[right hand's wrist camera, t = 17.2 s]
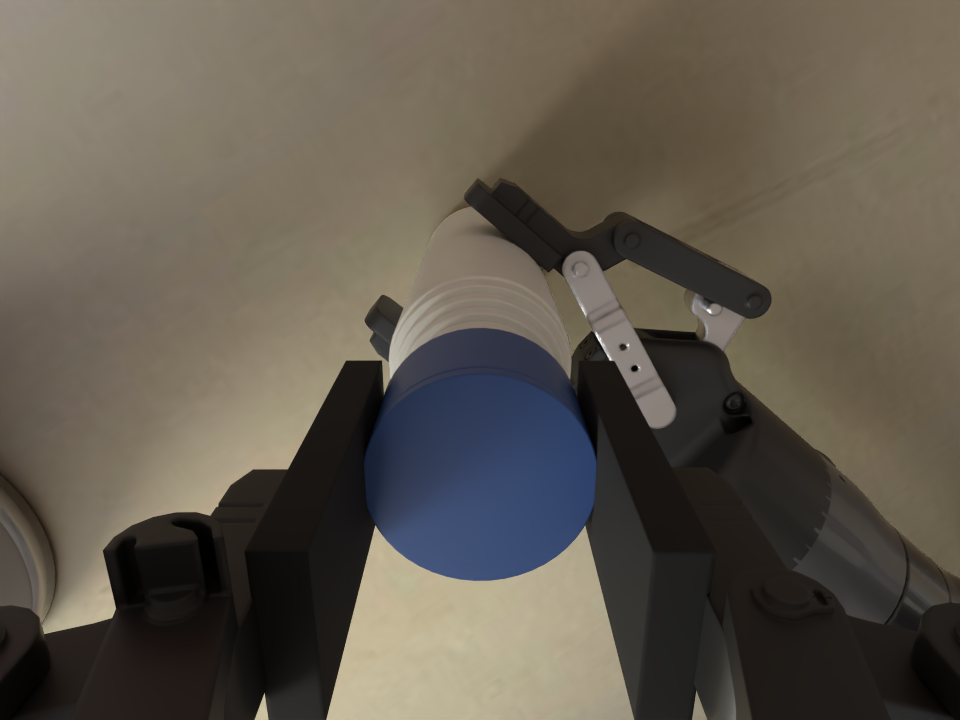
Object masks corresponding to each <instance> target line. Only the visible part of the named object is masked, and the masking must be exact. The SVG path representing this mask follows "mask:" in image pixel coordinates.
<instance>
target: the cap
mask: <svg viewBox="0 0 960 720" xmlns="http://www.w3.org/2000/svg"><path fill="white" fill-rule="evenodd" d="M596 465H597V457H596V453H595V449H594V446H593V443H592V440H591V437H590V434H589V431H588V428H587V425H586V422H585V419H584V416H583V413H582V410H581V407H580V404H579V401H578V398H577V395H576V392H575V390H574V387H573V385H572V383H571V380H570V379H569V377H568V375H567V374H566V372H565V370H564V369H563V368H562V366H561V365H560V364H559V363H558V361H557V360H556V359H555V358H554V357H553V356H552V355H551V354H549V353H548V352H547V351H546V350H545V349H543V348H542V347H540V346H539V345H538V344H536V343H534V342H533V341H531V340H529V339H527V338H525V337H523V336H520V335H517V334H515V333H512V332H508V331H504V330H499V329H491V328H469V329H462V330H456V331H453V332H449V333H446V334H443V335H441V336H438V337H436V338H433V339H431V340H430V341H428V342H426V343H425V344H423V345H421V346H420V347H419V348H417V349H416V350H415V351H413V352H412V353H411V354H410V355H409V356H408V357H407V358H406V359H405V360H404V361H403V362H402V363H401V364H400V366H399V367H398V368H397V370H396V371H395V372H394V374H393V376H392V378H391V380H390V382H389V383H388V386H387V389H386V392H385V394H384V397H383V400H382V403H381V406H380V409H379V412H378V415H377V418H376V421H375V424H374V427H373V430H372V433H371V436H370V439H369V442H368V445H367V448H366V451H365V455H364V472H365V486H366V501H367V508H368V511H369V513H370V516H371V518H372V520H373V521H374V523H375V525H376V527H377V528H378V530H379V531H380V533H381V534H382V535H383V536H384V538H385V539H386V540H387V541H388V542H389V543H390V544H391V545H392V546H393V547H394V548H395V549H396V550H397V551H398V552H399V553H401V554H402V555H403V556H404V557H406V558H407V559H408V560H410V561H412V562H413V563H415V564H417V565H418V566H420V567H422V568H425V569H427V570H429V571H431V572H434V573H437V574H440V575H443V576H446V577H451V578H456V579H462V580H472V581H490V580H498V579H505V578H509V577H514V576H518V575H521V574H523V573H526V572H529V571H532V570H534V569H536V568H538V567H540V566H542V565H544V564H546V563H547V562H549V561H550V560H552V559H553V558H555V557H556V556H558V555H559V554H560V553H561V552H562V551H564V550H565V549H566V548H567V547H568V546H569V545H570V544H571V543H572V542H573V541H574V540H575V539H576V537H577V536H578V535H579V533H580V532H581V530H582V529H583V528H584V526H585V524H586V522H587V520H588V519H589V517H590V515H591V512H592V510H593V507H594V495H595V480H596Z"/></svg>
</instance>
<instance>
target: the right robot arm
mask: <svg viewBox="0 0 960 720" xmlns="http://www.w3.org/2000/svg"><path fill="white" fill-rule="evenodd" d="M383 397H384V389H383V371H382V361H346V362H345V364H344V366H343V367H342V369H341V371H340V373H339V375H338V377H337V379H336V381H335V382H334V384H333V386H332V388H331V390H330V392H329V394H328V396H327V397H326V399H325V401H324V403H323V405H322V407H321V409H320V411H319V412H318V414H317V416H316V418H315V420H314V422H313V424H312V425H311V427H310V429H309V431H308V433H307V435H306V437H305V439H304V440H303V442H302V444H301V446H300V448H299V450H298V452H297V454H296V455H295V457H294V459H293V461H292V463H291V465H290V467H289V469H288V470H252V471H250V472H249V473H248V474H246V475H245V476H243V477H242V478H240V479H239V480H238V481H236V482H235V483H233V484H232V485H231V486H230V487H229V489H228V490H227V492H226V493H225V495H224V496H223V498H222V499H221V501H220V502H219V506H218V507H216V508H215V510H214V511H213V513H212V514H211V516H208V515H204V514H201V513H197V512H181V513H171V514H166V515H161V516H156V517H152V518H150V519H147V520H145V521H142V522H140V523H137V524H135V525H132V526H131V527H129V528H127V529H126V530H124V531H123V532H121V533H120V534H118V535H117V536H115V537H114V538H113V539H112V540H111V541H110V543H109V544H108V545H107V546H106V547H105V549H104V550H103V554H104V558H105V562H106V566H107V571H108V575H109V579H110V584H111V588H112V592H113V597H114V601H115V605H116V611H115V613H114V615H113V618H111V619H108V620H104V621H101V622H97V623H94V624H89V625H84V626H80V627H75V628H71V629H66V630H61V631H57V632H52V633H48V634H44V632H43V628H42V625H41V623H42V622H43V620H44V619H45V617H46V615H47V613H48V611H49V609H50V606H51V603H52V600H53V595H54V589H55V566H54V561H53V555H52V551H51V548H50V545H49V542H48V539H47V537H46V535H45V532H44V530H43V528H42V526H41V524H40V523H39V521H38V519H37V517H36V516H35V514H34V513H33V511H32V510H31V508H30V507H29V505H28V504H27V503H26V501H25V500H24V499H23V498H22V496H21V495H20V494H19V493H18V492H17V491H16V490H15V489H14V488H13V487H12V486H11V484H10V483H9V482H8V481H6V480H5V479H4V478H3V477H2V476H1V475H0V720H255V717H256V714H257V711H258V709H259V706H260V703H261V701H262V698H263V695H264V692H265V698H266V705H267V712H268V719H269V720H326V718H327V714H328V710H329V706H330V702H331V699H332V695H333V691H334V687H335V683H336V679H337V675H338V671H339V667H340V663H341V659H342V655H343V651H344V647H345V643H346V639H347V635H348V631H349V627H350V623H351V619H352V615H353V611H354V607H355V603H356V599H357V595H358V591H359V587H360V583H361V579H362V576H363V572H364V568H365V564H366V560H367V556H368V552H369V548H370V544H371V540H372V536H373V532H374V528H375V523H374V521H373V520H372V518H371V516H370V513H369V511H368V508H367V501H366V486H365V472H364V455H365V451H366V448H367V445H368V442H369V439H370V436H371V433H372V430H373V427H374V424H375V421H376V418H377V415H378V412H379V409H380V406H381V403H382V400H383ZM577 398H578V401H579V404H580V407H581V410H582V413H583V416H584V419H585V422H586V425H587V428H588V431H589V434H590V437H591V440H592V443H593V446H594V449H595V453H596V457H597V465H596V480H595V495H594V507H593V510H592V512H591V515H590V517H589V519H588V520H587V522H586V524H585V526H586V530H587V534H588V538H589V542H590V546H591V549H592V553H593V557H594V561H595V565H596V569H597V573H598V577H599V581H600V585H601V589H602V593H603V597H604V601H605V605H606V609H607V613H608V617H609V621H610V625H611V629H612V633H613V637H614V641H615V645H616V649H617V653H618V657H619V661H620V664H621V668H622V672H623V676H624V680H625V684H626V688H627V692H628V696H629V700H630V704H631V708H632V712H633V716H634V720H692V716H693V709H694V702H695V695H696V690H697V693H698V696H699V698H700V701H701V704H702V706H703V709H704V712H705V714H706V717H707V720H960V603H952V602H949V603H944V604H938V605H933V606H931V607H930V608H929V609H928V610H927V611H925V612H924V613H923V614H922V617H921V620H920V624H919V627H918V631H913V630H908V629H903V628H899V627H894V626H890V625H885V624H880V623H876V622H871V621H867V620H863V619H860V618H856V617H853V616H849V615H847V614H846V612H845V610H844V607H843V606H842V605H841V603H840V602H839V600H838V599H837V598H836V596H835V595H834V593H832V592H831V591H830V590H828V589H827V588H826V587H824V586H823V585H822V584H820V583H819V582H818V581H816V580H814V579H812V578H810V577H807V576H805V575H803V574H801V573H799V572H796V571H792V570H788V569H787V567H786V566H785V564H784V563H783V561H782V560H781V558H780V557H779V555H778V554H777V552H776V551H775V549H774V548H773V546H772V545H771V543H770V542H769V540H768V539H767V537H766V536H765V534H764V533H763V531H762V530H761V528H760V527H759V525H758V524H757V522H756V521H755V520H753V516H752V515H751V513H750V512H749V510H748V509H747V507H746V506H745V505H743V504H742V500H741V498H740V497H739V495H738V494H737V493H736V491H735V490H734V488H733V487H732V485H731V484H730V483H729V482H728V481H726V480H725V479H724V478H722V477H721V476H719V475H718V474H716V473H715V472H714V471H712V470H711V469H709V468H708V467H671V466H670V464H669V462H668V460H667V458H666V456H665V454H664V452H663V451H662V449H661V447H660V445H659V443H658V441H657V439H656V437H655V436H654V434H653V432H652V430H651V428H650V426H649V424H648V422H647V421H646V419H645V417H644V415H643V413H642V411H641V409H640V408H639V406H638V404H637V402H636V400H635V398H634V396H633V394H632V393H631V391H630V389H629V387H628V385H627V383H626V381H625V379H624V378H623V376H622V374H621V372H620V370H619V368H618V366H617V364H616V363H615V361H579V363H578V382H577Z"/></svg>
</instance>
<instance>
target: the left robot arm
mask: <svg viewBox="0 0 960 720" xmlns="http://www.w3.org/2000/svg"><path fill="white" fill-rule="evenodd" d="M464 199H465V200H466V202H467V203H468V204H469V205H470V206H471V207H473V208H474V209H475V210H476V211H477V212H478V213H479V214H481V215H482V216H483V217H484V218H485V219H487V220H488V221H489V222H490V223H491V224H492V225H494V226H495V227H496V228H497V229H498V230H499V231H501V232H502V233H503V234H504V235H505V236H506V237H508V238H509V239H510V240H511V241H512V242H513V243H515V244H516V245H517V246H518V247H519V248H521V249H522V250H523V251H525V252H526V253H527V254H528V255H529V256H530V257H531V258H532V259H533V260H535V261H536V262H537V263H538V264H539V265H540V266H542V267H543V268H544V269H545V270H546V271H547V272H550V271H551V270H552V268H554V269H555V270H556V271H558V272H559V273H560V274H561V275H562V276H563V277H564V278H565V280H566V282H567V284H568V285H569V287H570V289H571V291H572V293H573V294H574V296H575V298H576V300H577V302H578V303H579V305H580V307H581V309H582V311H583V312H584V314H585V316H586V318H587V320H588V322H589V323H590V325H591V327H592V329H593V331H594V333H595V334H594V333H593V332H592V331H591V332H590V333H589V334H588V335H587V336H586V337H585V339H584V340H583V341H582V342H581V343H580V344H579V345H578V346H577V348H576V350H575V352H574V354H573V355H572V357H571V359H572V361H571V374H570V380H571V383H572V385H573V387H574V390H575V392H576V395H577V382H578V363H579V361H615V363H616V364H617V366H618V368H619V370H620V372H621V374H622V376H623V378H624V379H625V381H626V383H627V385H628V387H629V389H630V391H631V393H632V394H633V396H634V398H635V400H636V402H637V404H638V406H639V408H640V409H641V411H642V413H643V415H644V417H645V419H646V421H647V422H648V424H649V426H650V428H651V430H652V432H653V434H654V436H655V437H656V439H657V441H658V443H659V445H660V447H661V449H662V451H663V452H664V454H665V456H666V458H667V460H668V462H669V464H670V466H671V467H708V468H709V469H711V470H712V471H714V472H715V473H716V474H718V475H719V476H721V477H722V478H724V479H725V480H726V481H728V482H729V483H730V484H731V485H732V487H733V488H734V490H735V491H736V493H737V494H738V495H739V497H740V498H741V500H742V504H743V505H745V506H746V507H747V509H748V510H749V512H750V513H751V515H752V516H753V520H755V521H756V522H757V524H758V525H759V527H760V528H761V530H762V531H763V533H764V534H765V536H766V537H767V539H768V540H769V542H770V543H771V545H772V546H773V548H774V549H775V551H776V552H777V554H778V555H779V557H780V558H781V560H782V561H783V563H784V564H785V566H786V567H787V569H788V570H792V571H796V572H799V573H801V574H803V575H805V576H807V577H810V578H812V579H814V580H816V581H818V582H819V583H820V584H822V585H823V586H824V587H826V588H827V589H828V590H830V591H831V592H832V593H834V595H835V596H836V598H837V599H838V600H839V602H840V603H841V605H842V606H843V607H844V610H845V612H846V614H847V615H849V616H853V617H856V618H860V619H863V620H867V621H871V622H876V623H880V624H885V625H890V626H894V627H899V628H903V629H908V630H913V631H918V627H919V624H920V620H921V617H922V614H923V613H924V612H925V611H927V610H928V609H929V608H930V607H931V606H933V605H938V604H944V603H949V602H952V603H960V578H958V577H956V576H954V575H953V574H951V573H949V572H947V571H946V570H944V569H942V568H941V567H939V566H938V565H937V564H936V563H935V562H933V561H932V560H931V559H930V558H929V557H927V556H926V555H925V554H924V553H923V552H922V551H921V550H919V549H918V548H917V547H916V546H915V545H914V544H913V543H911V542H910V541H909V540H908V539H907V538H906V537H904V536H903V535H902V534H901V533H900V532H899V531H898V530H896V529H895V528H894V527H893V526H892V525H891V524H890V523H889V522H888V521H887V520H886V519H885V518H884V517H883V516H882V515H881V514H880V512H879V511H878V510H877V509H876V507H875V506H874V505H873V504H872V502H871V501H870V500H869V499H868V498H867V497H866V496H865V494H864V493H863V492H862V491H861V490H860V489H859V488H858V487H857V486H856V485H855V484H854V483H853V482H852V481H851V480H849V479H848V478H847V477H846V476H845V475H844V474H842V473H841V472H840V471H839V470H838V469H837V468H836V466H835V465H834V464H833V463H832V462H831V460H830V459H829V458H828V457H827V456H825V455H824V454H823V453H821V452H820V451H818V450H816V449H814V448H813V447H812V446H811V445H809V444H808V443H807V442H806V441H805V440H804V439H803V438H801V437H800V436H799V435H798V434H797V433H796V432H795V431H793V430H792V429H791V428H790V427H789V426H788V425H787V424H785V423H784V422H783V421H782V420H781V419H780V418H779V417H778V416H776V415H775V414H774V413H773V412H772V411H771V410H770V409H768V408H767V407H766V406H765V405H764V404H763V403H762V402H760V401H759V400H758V399H757V398H756V397H755V396H754V395H752V394H751V393H750V392H749V391H748V390H747V389H746V388H745V387H743V386H742V385H741V384H740V383H739V382H738V381H737V380H736V379H735V378H734V376H733V374H732V372H731V369H730V364H729V361H728V358H727V356H726V355H725V353H724V350H725V349H726V347H727V346H728V344H729V342H730V341H731V339H732V338H733V336H734V335H735V333H736V332H737V330H738V329H739V327H740V325H741V324H742V322H743V321H744V319H745V318H749V319H753V318H757V317H760V316H762V315H763V314H764V313H765V312H766V311H767V310H768V309H769V307H770V304H771V294H770V292H769V290H768V289H767V288H766V287H764V286H763V285H761V284H759V283H758V282H756V281H755V280H753V279H751V278H750V277H748V276H746V275H745V274H743V273H742V272H740V271H738V270H737V269H735V268H733V267H731V266H729V265H727V264H725V263H723V262H721V261H719V260H717V259H715V258H713V257H711V256H709V255H707V254H705V253H703V252H701V251H699V250H697V249H695V248H693V247H691V246H689V245H687V244H685V243H684V242H682V241H680V240H678V239H676V238H674V237H672V236H670V235H668V234H666V233H664V232H662V231H660V230H658V229H656V228H654V227H652V226H650V225H648V224H646V223H644V222H642V221H640V220H638V219H636V218H634V217H632V216H631V215H629V214H627V213H624V212H614V213H612V214H610V215H608V216H607V217H606V218H605V220H604V221H603V222H602V223H600V224H598V225H596V226H595V227H593V228H591V229H589V230H587V231H584V232H573V231H570V230H568V229H566V228H565V227H564V226H563V225H562V224H560V223H559V222H558V221H557V220H556V219H555V218H554V217H552V216H551V215H550V214H549V213H548V212H547V211H546V210H545V209H543V208H542V207H541V206H540V205H539V204H538V203H536V202H535V201H534V200H533V199H532V198H531V197H530V196H529V195H527V194H526V193H525V192H524V191H523V190H522V189H521V188H520V187H518V186H517V185H516V184H515V183H512V182H509V181H507V180H504V179H501V178H500V179H499V180H498V181H497V183H496V184H495V185H494V186H493V187H492V189H491V188H489V187H488V186H487V185H486V184H485V183H484V182H482V181H481V180H480V179H478V178H477V180H476V181H475V182H474V183H473V184H472V186H471V187H470V188H469V189H468V191H467V192H466V193H465V196H464ZM625 259H628V260H630V261H632V262H634V263H636V264H638V265H640V266H642V267H644V268H646V269H648V270H650V271H652V272H654V273H656V274H658V275H660V276H662V277H664V278H666V279H668V280H670V281H672V282H674V283H676V284H678V285H680V286H682V287H684V288H686V289H687V290H686V292H685V295H684V302H685V305H686V307H687V308H688V309H689V310H690V311H691V312H692V313H693V314H694V315H695V316H696V317H697V319H698V328H697V330H696V332H683V331H668V330H654V329H640V328H633V326H632V324H631V323H630V321H629V319H628V317H627V315H626V313H625V312H624V310H623V308H622V307H621V305H620V303H619V301H618V300H617V298H616V296H615V294H614V292H613V290H612V288H611V286H610V285H609V283H608V281H607V279H606V277H605V275H604V273H603V271H605V270H607V269H609V268H611V267H612V266H614V265H616V264H618V263H620V262H622V261H623V260H625ZM402 311H403V308H402V307H401V306H400V305H399V304H397V303H396V302H395V301H394V300H392V299H391V298H389V297H387V296H385V295H381V297H380V298H379V299H378V300H377V302H376V303H375V304H374V305H373V306H372V308H371V309H370V310H369V312H368V314H367V316H366V318H365V323H366V324H367V326H368V327H369V328H370V329H371V330H372V331H373V335H372V337H371V339H370V342H371V344H372V345H373V347H374V348H375V350H376V352H377V353H378V354H379V355H380V356H382V357H383V358H384V359H386V360H387V361H388V362H389V352H390V345H391V341H392V337H393V334H394V331H395V329H396V326H397V324H398V321H399V318H400V316H401V313H402Z"/></svg>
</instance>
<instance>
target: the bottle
mask: <svg viewBox="0 0 960 720" xmlns="http://www.w3.org/2000/svg"><path fill="white" fill-rule="evenodd" d="M469 328H491V329H499V330H504V331H508V332H512V333H515V334H517V335H520V336H523V337H525V338H527V339H529V340H531V341H533V342H534V343H536V344H538V345H539V346H540V347H542V348H543V349H545V350H546V351H547V352H548V353H549V354H551V355H552V356H553V357H554V358H555V359H556V360H557V361H558V363H559V364H560V365H561V366H562V368H563V369H564V370H565V372H566V374H567V375H568V377H569V379H570V374H571V361H572V359H571V348H570V343H569V339H568V336H567V333H566V330H565V328H564V325H563V323H562V320H561V317H560V315H559V312H558V310H557V307H556V305H555V302H554V299H553V297H552V294H551V292H550V289H549V287H548V284H547V281H546V279H545V276H544V274H543V271H542V269H541V266H540V265H539V264H538V263H537V262H536V261H535V260H533V259H532V258H531V257H530V256H529V255H528V254H527V253H526V252H525V251H523V250H522V249H521V248H519V247H518V246H517V245H516V244H515V243H513V242H512V241H511V240H510V239H509V238H508V237H506V236H505V235H504V234H503V233H502V232H501V231H499V230H498V229H497V228H496V227H495V226H494V225H492V224H491V223H490V222H489V221H488V220H487V219H485V218H484V217H483V216H482V215H481V214H479V213H478V212H477V211H476V210H475V209H474V208H473V207H467V208H463V209H461V210H458V211H456V212H454V213H452V214H451V215H449V216H448V217H447V218H445V219H444V220H443V221H442V222H441V223H440V224H439V225H438V227H437V228H436V229H435V231H434V233H433V234H432V236H431V239H430V241H429V244H428V246H427V249H426V251H425V254H424V257H423V259H422V262H421V264H420V267H419V269H418V272H417V275H416V277H415V280H414V282H413V285H412V288H411V290H410V293H409V295H408V298H407V300H406V303H405V306H404V308H403V311H402V313H401V316H400V318H399V321H398V324H397V326H396V329H395V331H394V334H393V337H392V341H391V345H390V352H389V370H390V380H391V378H392V376H393V374H394V372H395V371H396V370H397V368H398V367H399V366H400V364H401V363H402V362H403V361H404V360H405V359H406V358H407V357H408V356H409V355H410V354H411V353H412V352H413V351H415V350H416V349H417V348H419V347H420V346H421V345H423V344H425V343H426V342H428V341H430V340H431V339H433V338H436V337H438V336H441V335H443V334H446V333H449V332H453V331H456V330H462V329H469Z"/></svg>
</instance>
